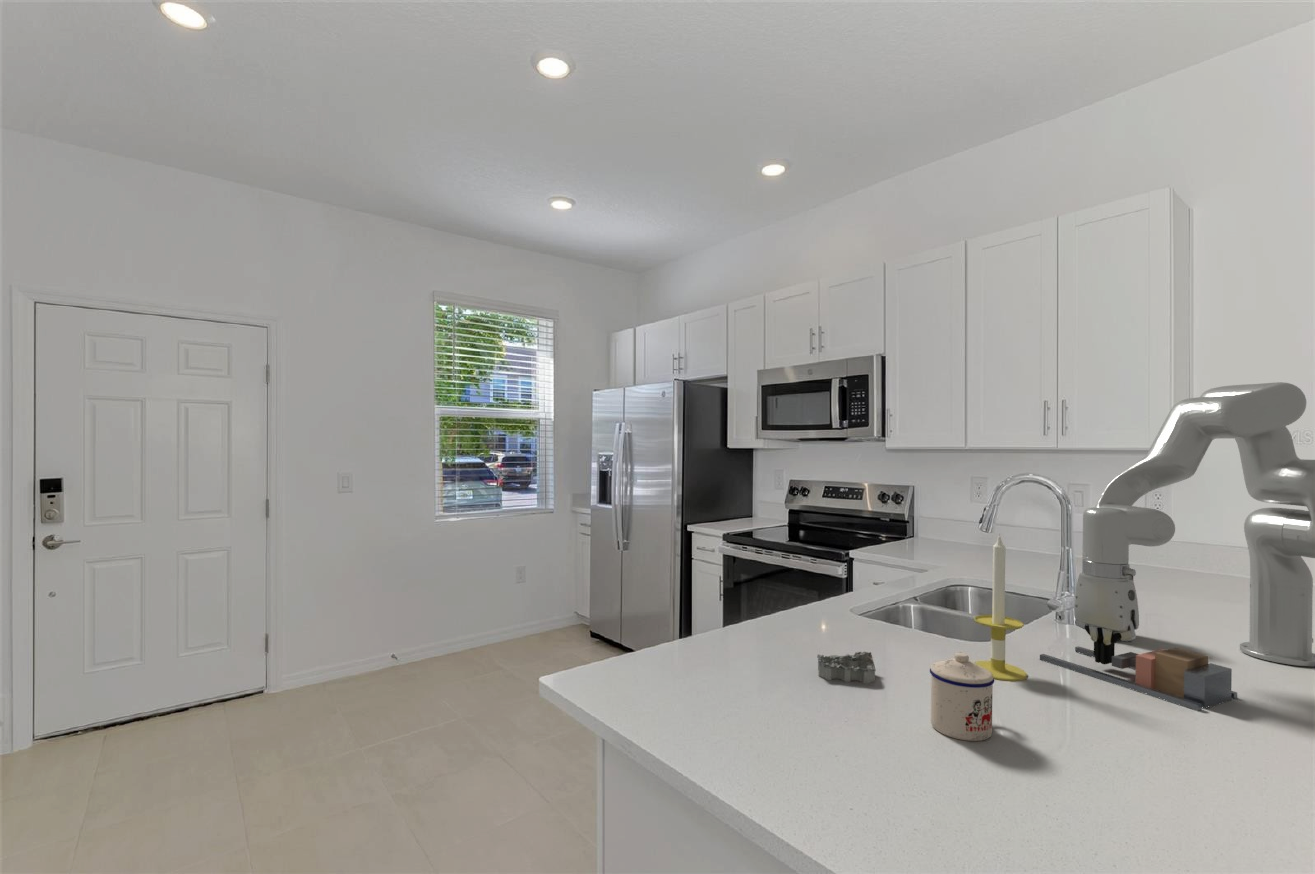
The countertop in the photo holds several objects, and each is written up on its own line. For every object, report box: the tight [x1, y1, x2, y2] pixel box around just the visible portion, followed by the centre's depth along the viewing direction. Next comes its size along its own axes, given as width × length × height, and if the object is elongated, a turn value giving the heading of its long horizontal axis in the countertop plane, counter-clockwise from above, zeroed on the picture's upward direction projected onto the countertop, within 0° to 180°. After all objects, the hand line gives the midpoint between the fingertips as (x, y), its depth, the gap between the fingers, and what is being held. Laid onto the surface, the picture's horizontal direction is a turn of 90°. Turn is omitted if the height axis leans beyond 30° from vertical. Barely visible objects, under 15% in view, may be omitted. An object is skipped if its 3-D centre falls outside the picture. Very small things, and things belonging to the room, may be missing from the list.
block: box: [1154, 647, 1209, 698], centre depth 114 cm, size 7×5×7 cm
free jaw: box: [1111, 648, 1166, 689], centre depth 120 cm, size 9×7×6 cm
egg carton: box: [817, 651, 877, 684], centre depth 121 cm, size 11×8×4 cm
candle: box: [973, 533, 1028, 682], centre depth 124 cm, size 10×10×27 cm
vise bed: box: [1039, 645, 1238, 712], centre depth 122 cm, size 13×27×6 cm, turn 26°
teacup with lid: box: [929, 652, 995, 742], centre depth 99 cm, size 12×9×12 cm
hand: (1103, 662), depth 126 cm, fingers closed
